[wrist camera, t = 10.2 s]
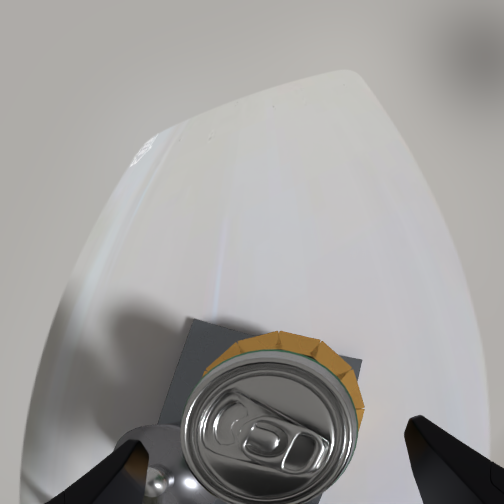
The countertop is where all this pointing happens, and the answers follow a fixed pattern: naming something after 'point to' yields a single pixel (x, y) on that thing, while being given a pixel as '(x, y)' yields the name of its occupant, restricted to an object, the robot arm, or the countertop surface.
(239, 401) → the soda can
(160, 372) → the countertop surface
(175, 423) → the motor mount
